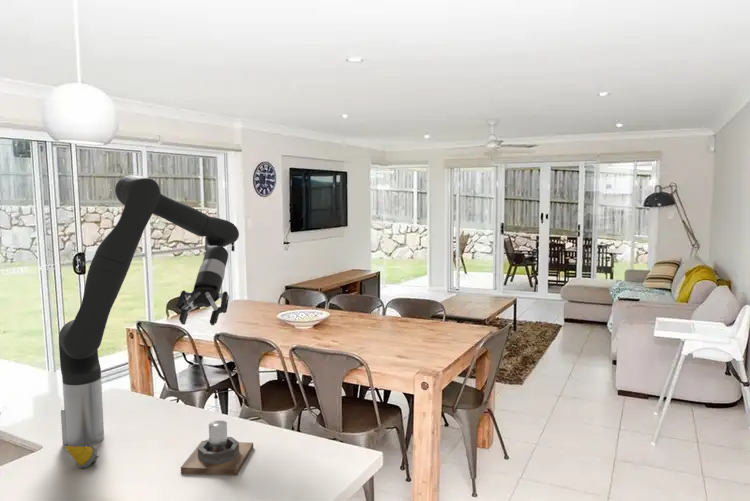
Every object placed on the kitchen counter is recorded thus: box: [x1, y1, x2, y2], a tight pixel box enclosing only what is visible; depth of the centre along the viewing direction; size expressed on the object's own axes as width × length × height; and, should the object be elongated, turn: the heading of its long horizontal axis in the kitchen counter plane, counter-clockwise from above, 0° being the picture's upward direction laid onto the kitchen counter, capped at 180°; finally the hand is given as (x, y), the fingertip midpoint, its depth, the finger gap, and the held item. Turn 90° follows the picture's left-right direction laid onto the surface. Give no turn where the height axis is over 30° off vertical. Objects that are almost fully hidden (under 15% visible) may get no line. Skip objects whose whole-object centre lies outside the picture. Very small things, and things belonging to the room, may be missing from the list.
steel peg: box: [208, 420, 228, 452], centre depth 139 cm, size 4×4×8 cm
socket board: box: [180, 436, 254, 476], centre depth 139 cm, size 14×14×4 cm
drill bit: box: [64, 445, 100, 469], centre depth 135 cm, size 5×5×10 cm
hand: (197, 323), depth 155 cm, fingers open, 8 cm apart
